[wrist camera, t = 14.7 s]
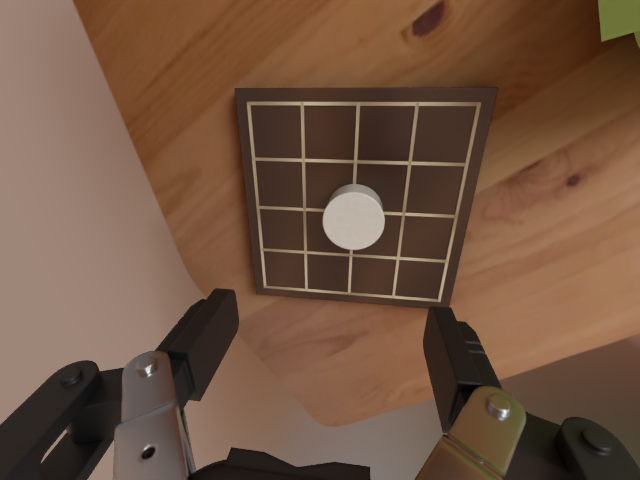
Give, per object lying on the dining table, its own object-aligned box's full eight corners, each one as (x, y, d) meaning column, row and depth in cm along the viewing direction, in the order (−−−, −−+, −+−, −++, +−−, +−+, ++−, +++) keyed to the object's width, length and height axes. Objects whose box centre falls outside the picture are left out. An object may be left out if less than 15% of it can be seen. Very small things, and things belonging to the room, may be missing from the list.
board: (260, 287, 31) (255, 294, 30) (240, 88, 23) (233, 88, 22) (445, 302, 29) (448, 311, 27) (491, 87, 21) (499, 87, 20)
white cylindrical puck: (325, 235, 26) (322, 248, 24) (326, 182, 24) (322, 191, 22) (380, 238, 25) (382, 252, 23) (385, 184, 23) (387, 193, 21)
